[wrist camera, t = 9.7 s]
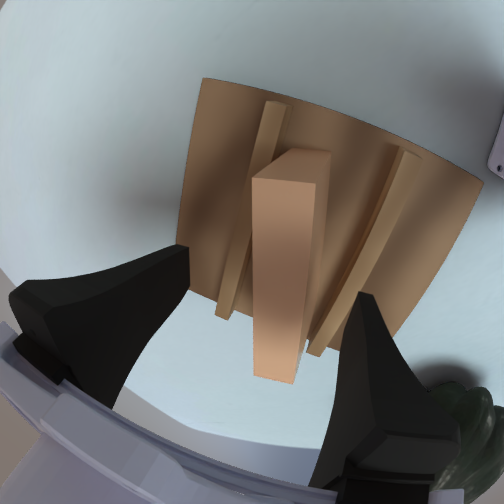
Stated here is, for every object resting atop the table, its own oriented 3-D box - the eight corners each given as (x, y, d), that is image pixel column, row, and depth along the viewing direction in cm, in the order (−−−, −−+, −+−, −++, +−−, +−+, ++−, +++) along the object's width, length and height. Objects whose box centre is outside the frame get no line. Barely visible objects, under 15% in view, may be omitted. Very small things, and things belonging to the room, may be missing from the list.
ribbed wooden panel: (478, 178, 15) (495, 191, 13) (372, 354, 25) (371, 379, 23) (209, 78, 18) (188, 76, 16) (177, 276, 28) (160, 293, 26)
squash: (372, 426, 31) (352, 533, 18) (411, 349, 23) (408, 506, 11) (464, 428, 26) (464, 526, 14) (522, 354, 19) (550, 478, 7)
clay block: (331, 151, 17) (315, 183, 11) (315, 305, 23) (293, 384, 17) (292, 147, 18) (252, 177, 11) (284, 300, 24) (253, 375, 17)
